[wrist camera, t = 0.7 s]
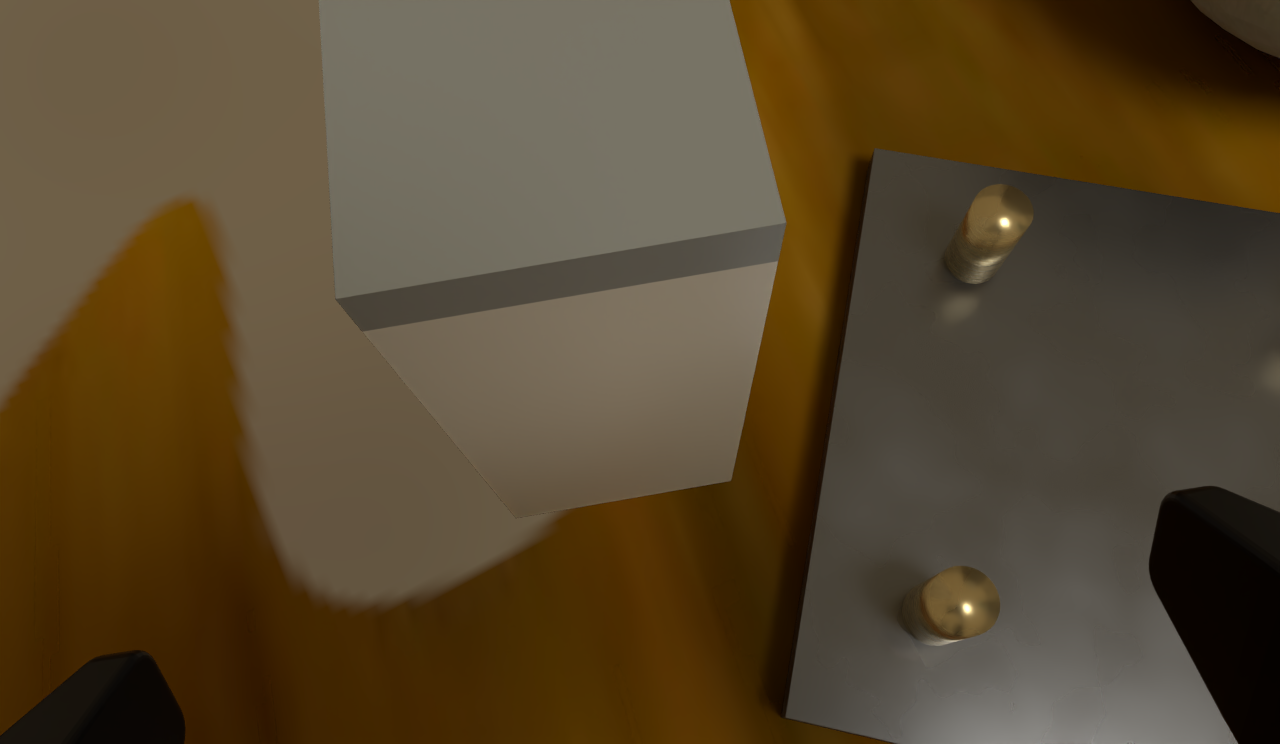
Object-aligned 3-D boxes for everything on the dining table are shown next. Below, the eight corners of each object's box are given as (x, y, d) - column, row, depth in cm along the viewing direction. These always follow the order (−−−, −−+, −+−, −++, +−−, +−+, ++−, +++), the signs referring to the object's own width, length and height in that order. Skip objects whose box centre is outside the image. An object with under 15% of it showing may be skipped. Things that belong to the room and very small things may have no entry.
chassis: (1482, 880, 20) (1643, 912, 16) (780, 717, 21) (799, 717, 18) (1432, 260, 25) (1548, 190, 21) (867, 168, 26) (894, 90, 23)
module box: (731, 480, 23) (785, 223, 11) (515, 518, 23) (336, 299, 11) (691, 287, 25) (700, -113, 13) (492, 320, 25) (315, -51, 13)
